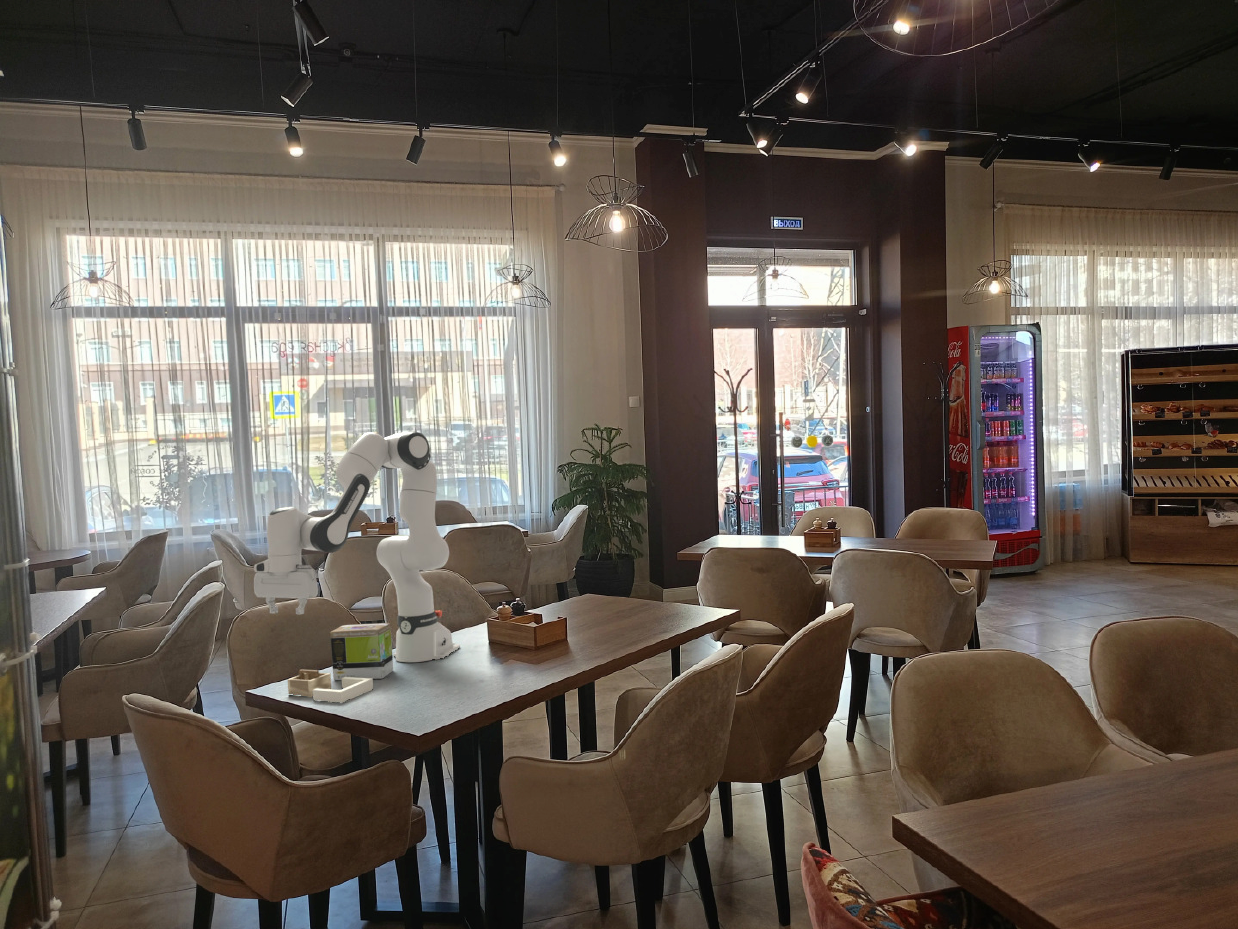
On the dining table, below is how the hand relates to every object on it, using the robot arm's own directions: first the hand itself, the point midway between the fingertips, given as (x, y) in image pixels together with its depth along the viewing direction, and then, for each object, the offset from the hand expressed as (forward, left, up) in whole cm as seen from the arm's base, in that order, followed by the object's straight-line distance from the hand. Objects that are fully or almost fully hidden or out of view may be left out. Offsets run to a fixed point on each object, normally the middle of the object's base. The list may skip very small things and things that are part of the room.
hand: (286, 613), depth 244 cm
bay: (+1, +18, -22) cm, 28 cm away
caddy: (+1, +7, -22) cm, 23 cm away
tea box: (-17, +11, -22) cm, 30 cm away
